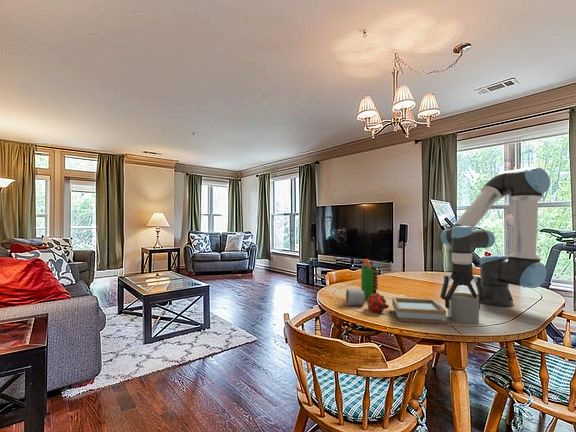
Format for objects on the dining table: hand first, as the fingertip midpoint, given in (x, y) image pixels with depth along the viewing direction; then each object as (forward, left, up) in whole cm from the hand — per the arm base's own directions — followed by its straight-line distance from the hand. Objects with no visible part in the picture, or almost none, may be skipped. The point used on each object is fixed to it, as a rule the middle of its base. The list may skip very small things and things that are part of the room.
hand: (462, 316), depth 130 cm
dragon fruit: (+34, -4, -1) cm, 34 cm away
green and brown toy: (+36, -28, -1) cm, 46 cm away
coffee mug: (0, 0, -1) cm, 1 cm away
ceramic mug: (+44, -14, -1) cm, 46 cm away
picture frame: (+18, +1, -1) cm, 18 cm away
